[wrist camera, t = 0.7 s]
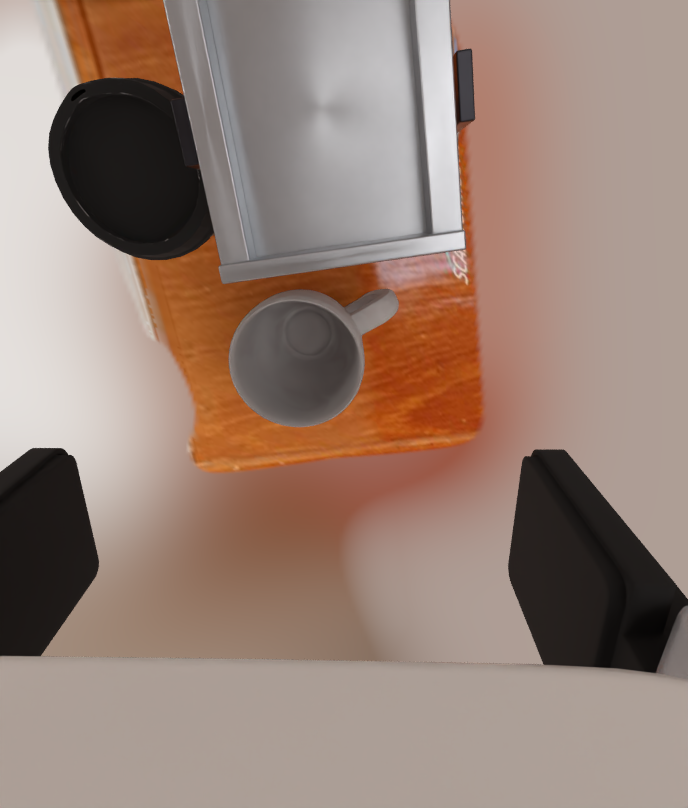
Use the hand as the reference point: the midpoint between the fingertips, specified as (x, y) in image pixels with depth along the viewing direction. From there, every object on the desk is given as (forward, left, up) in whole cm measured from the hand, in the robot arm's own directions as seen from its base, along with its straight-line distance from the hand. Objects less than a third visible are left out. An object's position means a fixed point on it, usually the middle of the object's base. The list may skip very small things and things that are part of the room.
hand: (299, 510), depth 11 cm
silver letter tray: (-9, -2, -10) cm, 13 cm away
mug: (+3, -1, -32) cm, 32 cm away
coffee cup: (-5, -11, -32) cm, 34 cm away
